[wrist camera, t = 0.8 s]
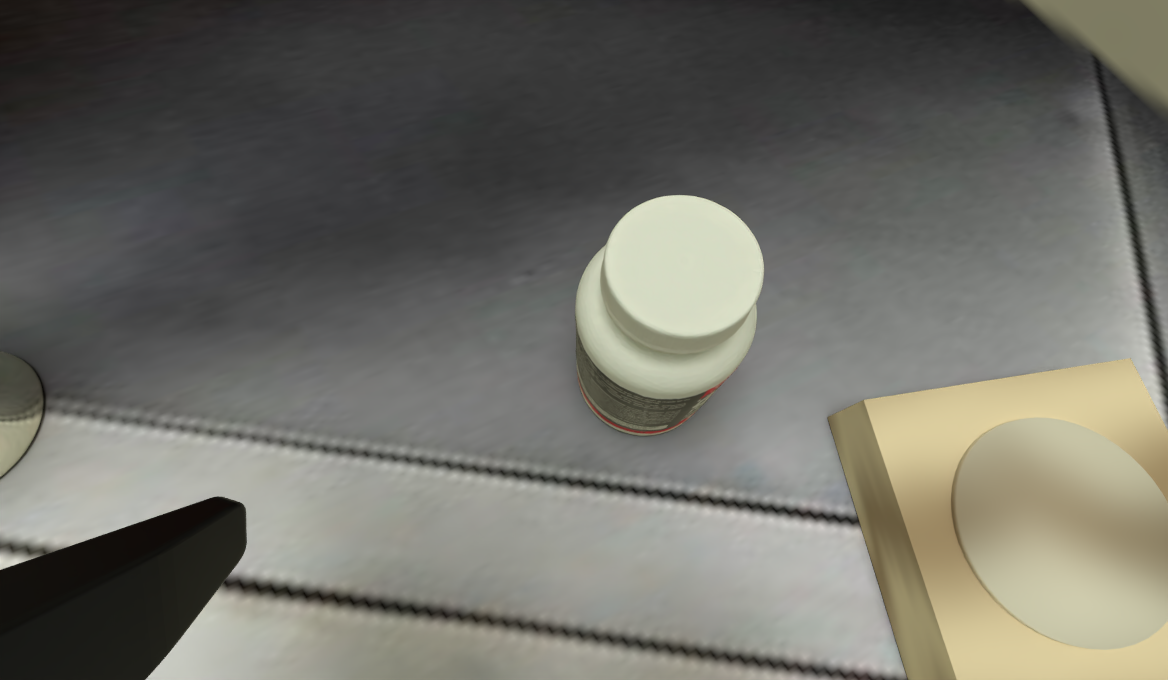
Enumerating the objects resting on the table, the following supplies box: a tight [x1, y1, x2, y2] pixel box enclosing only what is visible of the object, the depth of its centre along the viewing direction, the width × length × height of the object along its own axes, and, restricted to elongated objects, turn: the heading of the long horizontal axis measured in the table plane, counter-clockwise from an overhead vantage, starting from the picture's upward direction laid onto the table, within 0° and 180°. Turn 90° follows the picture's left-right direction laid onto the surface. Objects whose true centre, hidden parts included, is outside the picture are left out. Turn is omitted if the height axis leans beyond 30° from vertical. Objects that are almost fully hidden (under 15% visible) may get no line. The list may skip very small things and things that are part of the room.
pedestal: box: [827, 358, 1168, 680], centre depth 19 cm, size 10×10×3 cm
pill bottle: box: [575, 195, 764, 436], centre depth 18 cm, size 5×5×10 cm
